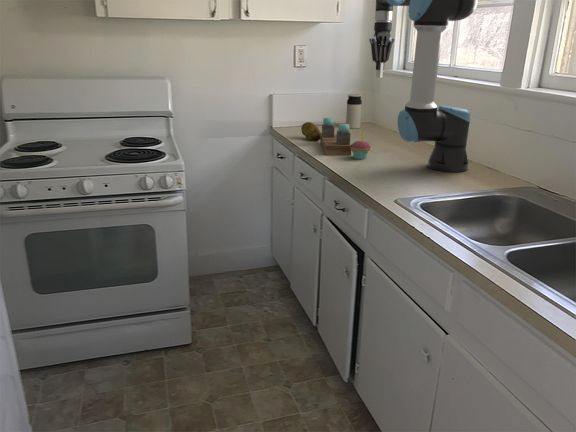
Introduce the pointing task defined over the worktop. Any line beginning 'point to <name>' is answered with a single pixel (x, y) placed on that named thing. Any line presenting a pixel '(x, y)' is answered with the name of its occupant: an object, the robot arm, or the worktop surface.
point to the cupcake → (360, 148)
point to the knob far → (328, 121)
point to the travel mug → (353, 111)
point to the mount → (335, 141)
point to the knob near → (343, 128)
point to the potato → (311, 131)
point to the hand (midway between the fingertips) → (379, 77)
